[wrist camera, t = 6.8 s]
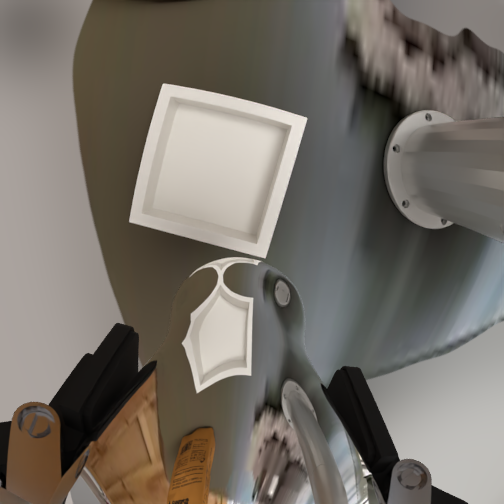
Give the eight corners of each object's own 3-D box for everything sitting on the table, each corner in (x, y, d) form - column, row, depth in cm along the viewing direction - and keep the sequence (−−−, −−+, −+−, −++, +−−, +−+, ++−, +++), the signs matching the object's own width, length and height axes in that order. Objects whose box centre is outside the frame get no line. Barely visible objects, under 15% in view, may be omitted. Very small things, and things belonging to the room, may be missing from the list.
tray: (299, 124, 26) (307, 118, 22) (263, 245, 29) (265, 258, 25) (174, 93, 25) (162, 83, 21) (144, 213, 28) (129, 221, 24)
